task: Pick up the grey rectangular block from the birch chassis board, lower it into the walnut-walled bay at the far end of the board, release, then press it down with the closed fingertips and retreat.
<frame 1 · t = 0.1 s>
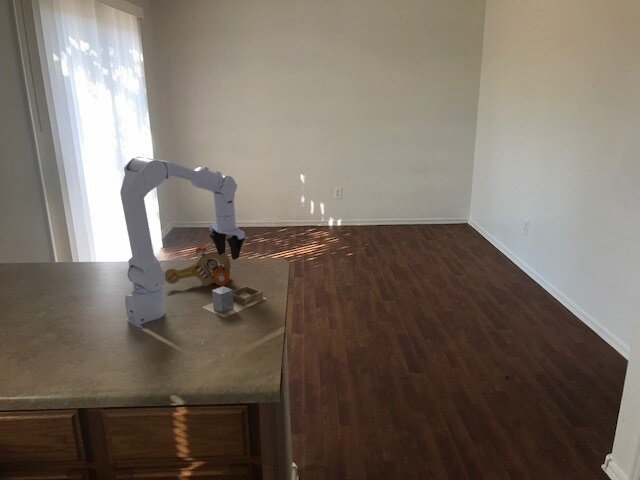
hand: (228, 256, 158), 10 cm above the worktop, fingers open, 6 cm apart
chassis: (235, 305, 148), on the worktop
grey rectangular block: (223, 309, 144), point 1 cm above the worktop, touching chassis
toy helicopter: (205, 287, 162), on the worktop, touching gripper
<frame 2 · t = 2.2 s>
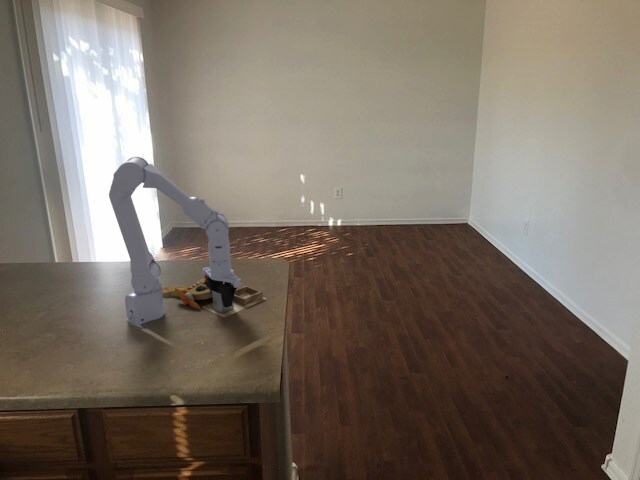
hand: (223, 304, 143), 3 cm above the worktop, fingers closed on grey rectangular block, 4 cm apart
grey rectangular block: (223, 309, 144), point 1 cm above the worktop, touching chassis, gripper
toy helicopter: (202, 280, 157), point 4 cm above the worktop
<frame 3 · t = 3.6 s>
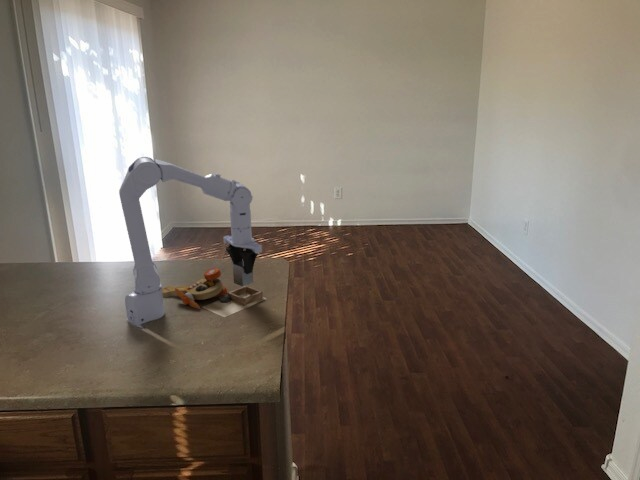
hand: (243, 271, 148), 10 cm above the worktop, fingers closed on grey rectangular block, 4 cm apart
grey rectangular block: (243, 282, 149), point 6 cm above the worktop, touching gripper
everything else where it was.
when the fingers open (4 cm above the worktop, at t = 5.1 s): grey rectangular block stays where it is, resting on chassis.
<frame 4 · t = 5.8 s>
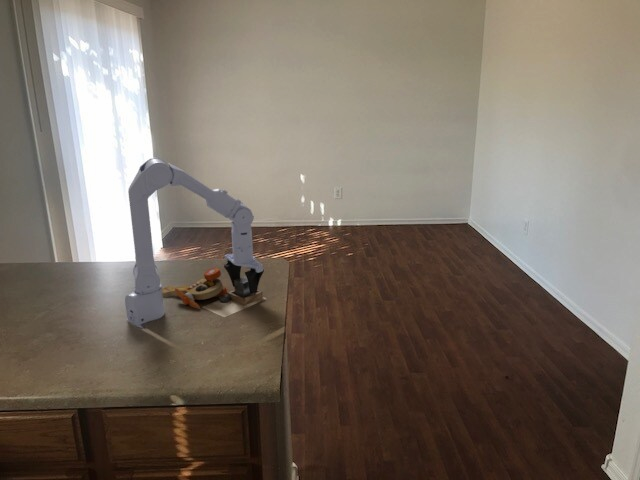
hand: (244, 289, 150), 4 cm above the worktop, fingers open, 7 cm apart
grey rectangular block: (244, 298, 151), point 1 cm above the worktop, touching chassis
everything else where it was.
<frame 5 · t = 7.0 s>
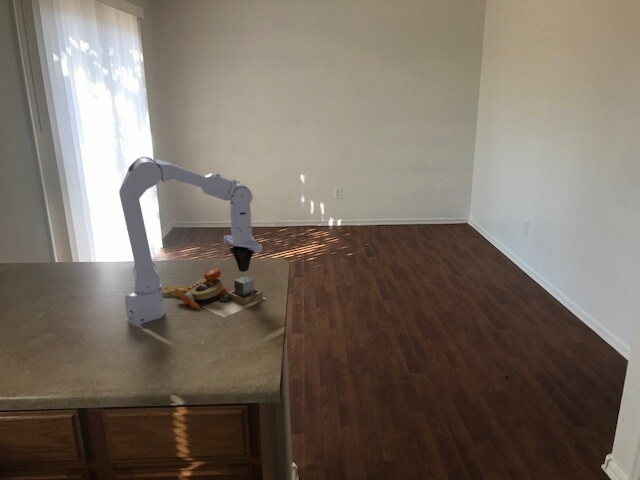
hand: (243, 270, 148), 10 cm above the worktop, fingers closed
nothing on the worktop moved.
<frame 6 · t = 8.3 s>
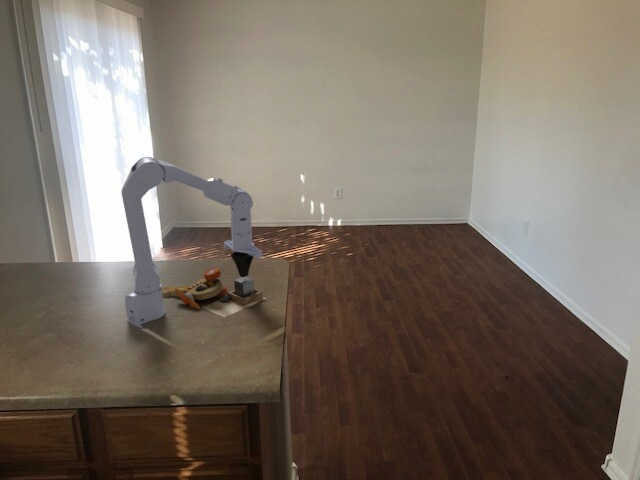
hand: (244, 275, 149), 8 cm above the worktop, fingers closed
nothing on the worktop moved.
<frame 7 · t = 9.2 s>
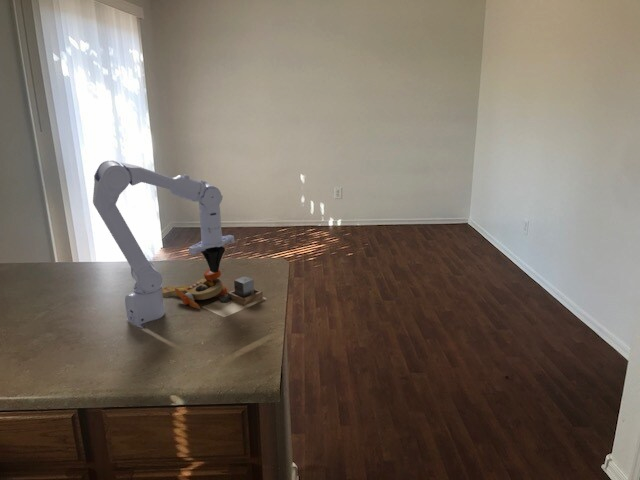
hand: (214, 271, 148), 10 cm above the worktop, fingers closed
nothing on the worktop moved.
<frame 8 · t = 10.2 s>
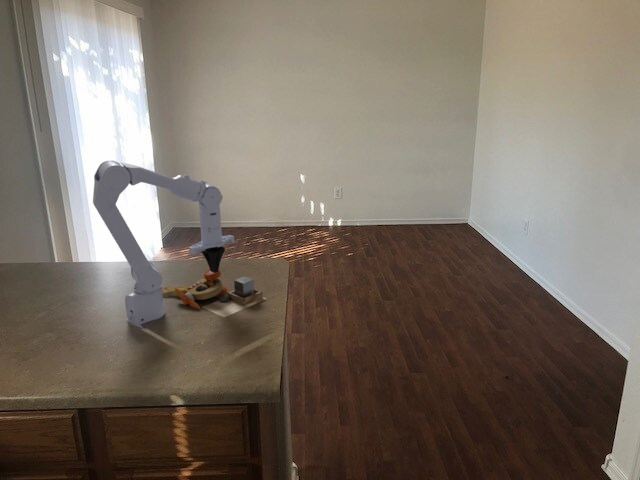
hand: (214, 271, 148), 10 cm above the worktop, fingers closed
nothing on the worktop moved.
at the end: grey rectangular block 0.2 cm from the target spot on the chassis, point 1.0 cm above the chassis's base; grey rectangular block tilted 0°; the gripper is holding nothing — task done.
